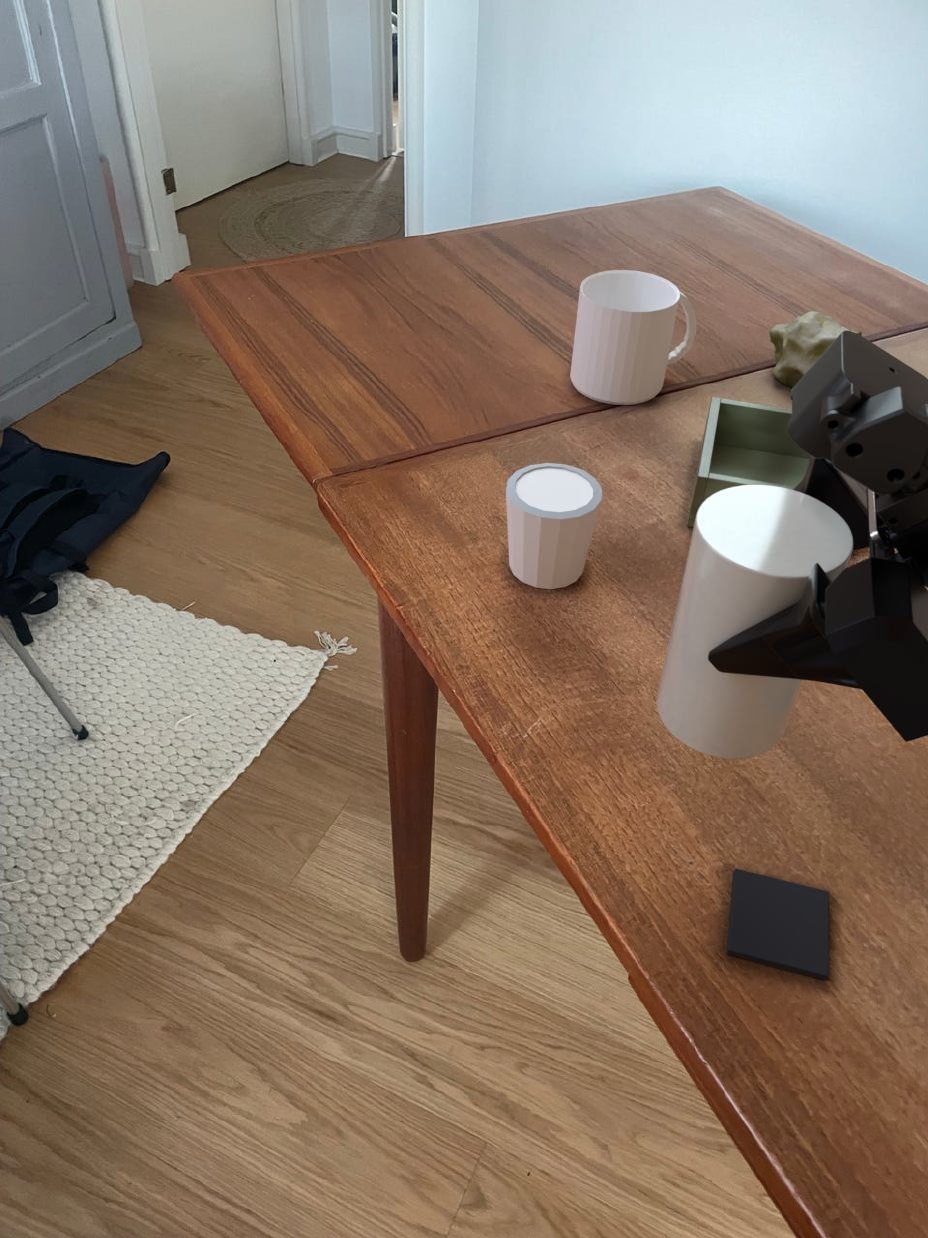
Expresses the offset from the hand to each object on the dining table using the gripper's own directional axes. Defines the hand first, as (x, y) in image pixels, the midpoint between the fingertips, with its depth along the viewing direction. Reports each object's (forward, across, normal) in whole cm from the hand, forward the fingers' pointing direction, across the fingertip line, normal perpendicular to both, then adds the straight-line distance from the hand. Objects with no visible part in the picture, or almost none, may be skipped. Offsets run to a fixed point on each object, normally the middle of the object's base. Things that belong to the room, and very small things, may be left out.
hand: (719, 612), depth 45 cm
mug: (+18, -49, +4) cm, 52 cm away
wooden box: (+8, -33, +14) cm, 37 cm away
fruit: (+6, -55, +16) cm, 57 cm away
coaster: (+6, +7, +15) cm, 18 cm away
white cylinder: (+4, 0, +6) cm, 7 cm away
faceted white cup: (+19, -19, +2) cm, 27 cm away
